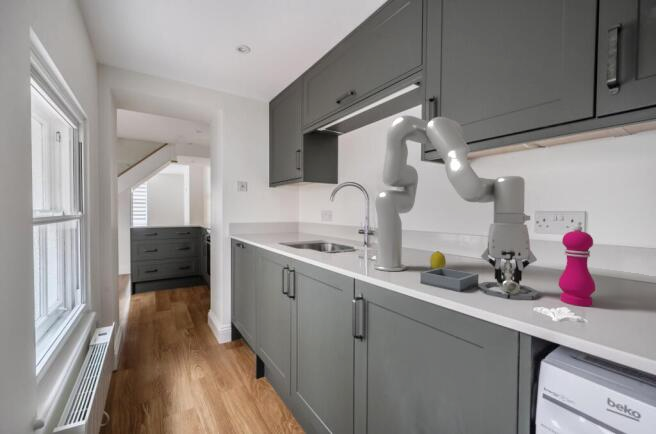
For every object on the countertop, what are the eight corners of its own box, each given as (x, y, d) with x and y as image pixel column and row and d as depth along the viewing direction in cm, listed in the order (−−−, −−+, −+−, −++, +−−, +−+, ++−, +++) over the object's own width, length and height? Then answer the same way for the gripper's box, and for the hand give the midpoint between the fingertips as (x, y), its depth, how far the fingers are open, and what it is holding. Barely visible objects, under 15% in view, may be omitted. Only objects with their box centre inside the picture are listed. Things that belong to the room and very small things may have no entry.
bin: (420, 283, 94) (420, 272, 94) (440, 277, 102) (440, 267, 102) (459, 292, 84) (459, 280, 84) (478, 285, 92) (478, 274, 92)
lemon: (443, 274, 107) (444, 252, 107) (428, 272, 110) (428, 251, 110) (446, 271, 112) (447, 250, 112) (432, 269, 115) (432, 249, 115)
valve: (500, 294, 82) (500, 252, 81) (490, 288, 88) (491, 249, 88) (525, 295, 81) (526, 252, 80) (514, 289, 87) (515, 249, 87)
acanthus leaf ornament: (533, 313, 69) (533, 305, 69) (562, 313, 69) (562, 305, 69) (557, 325, 62) (557, 316, 62) (590, 325, 62) (590, 316, 61)
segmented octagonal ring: (469, 290, 86) (469, 287, 86) (490, 282, 95) (490, 279, 95) (527, 303, 74) (527, 299, 74) (544, 292, 83) (544, 289, 83)
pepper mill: (554, 301, 75) (555, 224, 75) (562, 296, 80) (564, 223, 79) (591, 309, 70) (593, 226, 69) (598, 303, 74) (600, 225, 74)
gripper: (538, 219, 84) (537, 282, 85) (474, 218, 90) (474, 277, 91) (547, 220, 77) (546, 288, 78) (477, 219, 83) (477, 283, 84)
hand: (507, 281), depth 84 cm, fingers closed on valve, 3 cm apart
